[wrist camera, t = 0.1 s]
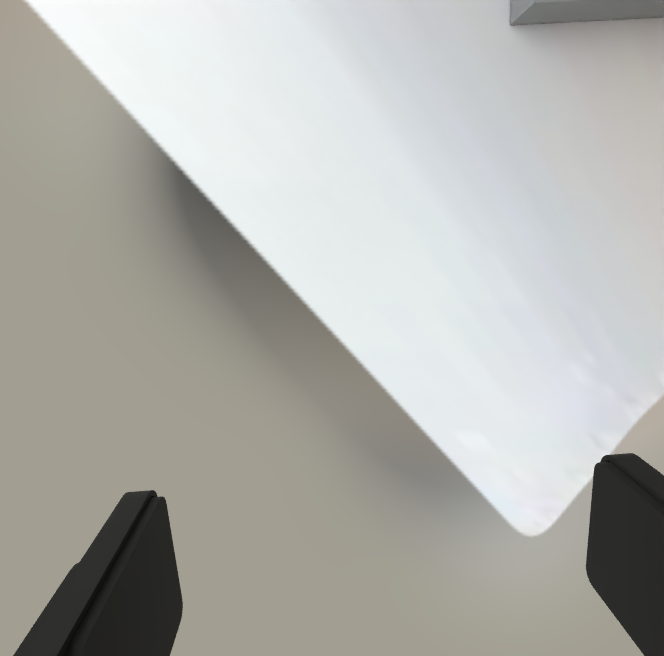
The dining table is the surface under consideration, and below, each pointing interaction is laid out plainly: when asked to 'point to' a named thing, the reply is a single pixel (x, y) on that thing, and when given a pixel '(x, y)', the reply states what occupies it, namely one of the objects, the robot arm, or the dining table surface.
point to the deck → (582, 10)
